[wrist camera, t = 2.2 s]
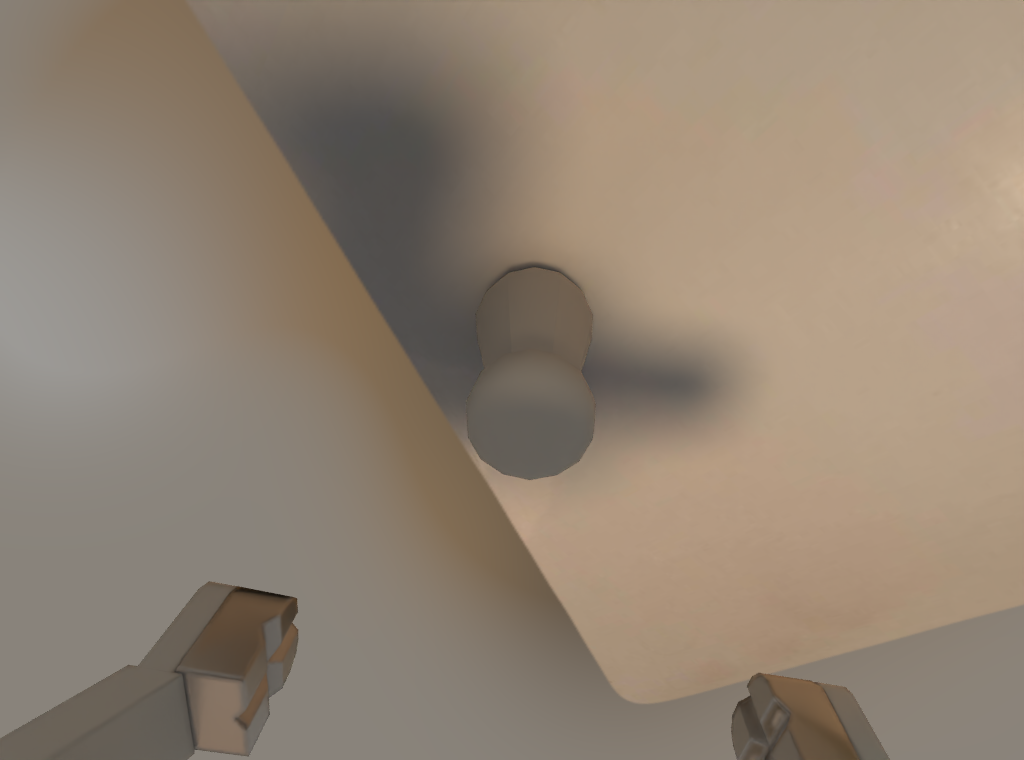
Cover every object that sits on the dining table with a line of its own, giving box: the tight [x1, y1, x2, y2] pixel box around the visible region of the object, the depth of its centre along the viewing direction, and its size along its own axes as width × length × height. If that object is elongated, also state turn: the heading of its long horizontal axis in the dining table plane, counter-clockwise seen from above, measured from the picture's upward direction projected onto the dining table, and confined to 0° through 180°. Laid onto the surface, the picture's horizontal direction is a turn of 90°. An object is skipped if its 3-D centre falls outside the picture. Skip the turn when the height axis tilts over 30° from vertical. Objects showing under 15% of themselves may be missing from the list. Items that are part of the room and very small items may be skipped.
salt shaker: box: [466, 267, 596, 480], centre depth 22 cm, size 6×6×13 cm
